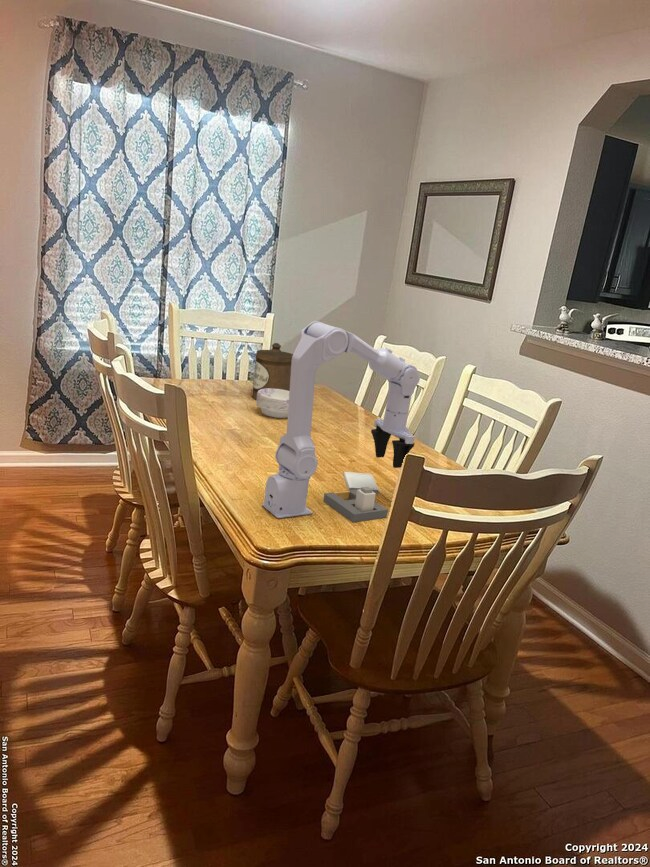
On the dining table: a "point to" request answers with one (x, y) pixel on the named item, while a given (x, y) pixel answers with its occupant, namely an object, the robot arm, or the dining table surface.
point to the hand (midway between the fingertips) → (388, 462)
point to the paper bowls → (273, 402)
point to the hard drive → (360, 481)
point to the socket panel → (353, 506)
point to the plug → (365, 499)
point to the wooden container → (272, 370)
